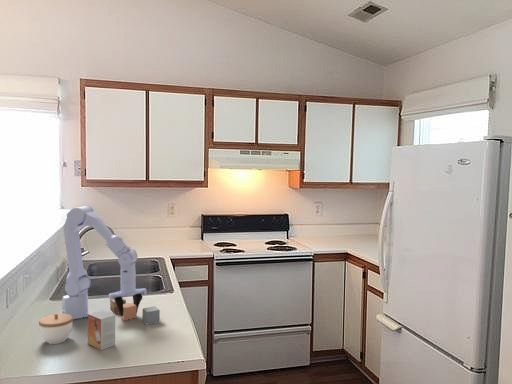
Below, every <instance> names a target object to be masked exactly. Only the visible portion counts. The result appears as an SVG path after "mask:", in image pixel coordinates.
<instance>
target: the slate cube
mask: <svg viewBox="0 0 512 384" xmlns="http://www.w3.org/2000/svg"><path fill="white" fill-rule="evenodd" d="M160 311H161V310H160V309H159V308H158V307H157V306H149V307H144V308H142V322H143V321H144V322H145V323H144V322H143V323H144V324H146V323H147V324H149V325H151V324H150V323H154V324H156V323H155V322H159V321H161V320H160V315H161V314H160ZM159 323H160V322H159ZM147 324H146V325H147Z"/></svg>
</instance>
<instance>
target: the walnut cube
mask: <svg viewBox="0 0 512 384" xmlns="http://www.w3.org/2000/svg"><path fill="white" fill-rule="evenodd" d="M122 300H123V301H124V302H123V304H127V300H126V298H125V297H122ZM109 303H110V304H109V305H110V307H109V310H111V311H112V312H113V313H116V314H119V313H118V312H119V309H118V306H117V304H116V302H115V300H114V299H112V300H110V299H109ZM111 311H110V312H111ZM112 312H111V313H112ZM113 313H112V314H113Z"/></svg>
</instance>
